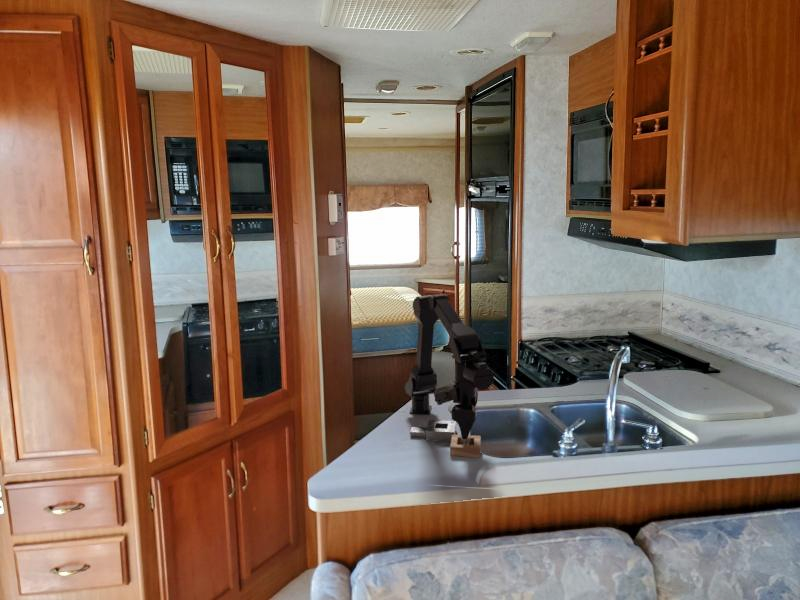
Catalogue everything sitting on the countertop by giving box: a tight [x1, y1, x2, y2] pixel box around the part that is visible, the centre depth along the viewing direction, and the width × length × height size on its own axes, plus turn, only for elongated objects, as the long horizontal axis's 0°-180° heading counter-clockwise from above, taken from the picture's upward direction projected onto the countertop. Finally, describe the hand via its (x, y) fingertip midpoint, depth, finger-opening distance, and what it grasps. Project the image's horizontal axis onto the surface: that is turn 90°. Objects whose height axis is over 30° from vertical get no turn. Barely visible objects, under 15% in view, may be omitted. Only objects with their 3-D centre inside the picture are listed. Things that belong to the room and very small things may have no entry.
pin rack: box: [449, 434, 482, 458], centre depth 168 cm, size 8×8×2 cm
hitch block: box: [409, 419, 457, 443], centre depth 177 cm, size 8×13×3 cm, turn 81°
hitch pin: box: [460, 432, 471, 445], centre depth 167 cm, size 3×3×9 cm
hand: (465, 431), depth 167 cm, fingers open, 9 cm apart
